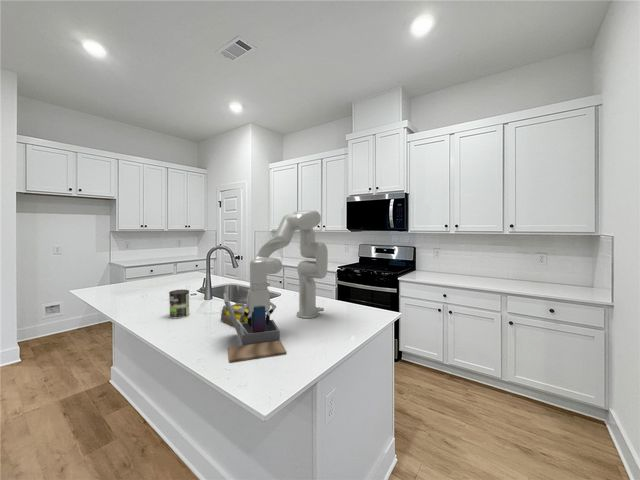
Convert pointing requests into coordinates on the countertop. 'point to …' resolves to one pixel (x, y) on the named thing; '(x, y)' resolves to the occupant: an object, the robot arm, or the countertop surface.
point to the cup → (258, 319)
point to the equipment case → (260, 337)
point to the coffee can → (179, 303)
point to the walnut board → (255, 351)
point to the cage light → (239, 315)
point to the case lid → (232, 314)
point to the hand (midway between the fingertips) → (258, 324)
